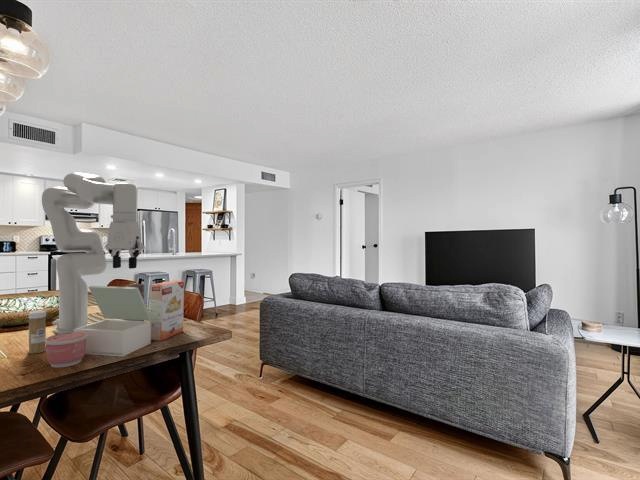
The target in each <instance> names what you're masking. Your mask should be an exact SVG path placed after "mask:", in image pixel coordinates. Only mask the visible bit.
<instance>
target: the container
mask: <svg viewBox="0 0 640 480" xmlns="http://www.w3.org/2000/svg"><path fill="white" fill-rule="evenodd" d="M86 338H87V334H86V333H83V332H71V333H63V334H55V335H50V336H47V337H46V339H45V348H46V350H45V357H46V361H47V362H48V364H50V366H51V367H52V368H65V367H66V368H67V367H71V366H74V365H77V364H80V363H82V359H83V358H84V357H85V356H86V354H85V353H86Z"/></svg>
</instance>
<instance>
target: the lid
mask: <svg viewBox="0 0 640 480" xmlns="http://www.w3.org/2000/svg"><path fill="white" fill-rule="evenodd" d="M87 288H88V289H89V291H90V293H91V296H92V297H93V299H94V301H95V303H96V305H97V306H98V309H99V311H100V312H101V315H102V317H103V318H104V319H113V320H123V319H127V320H144V321H150V320H151V317H150V314H149V308H147V305H146V304H145V303H146V302H145V299H144V300H143V298H142V295H141V293H140V291H139V288H138V287H125V286H113V285H112V286H105V285H90V286H87Z"/></svg>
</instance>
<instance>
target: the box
mask: <svg viewBox="0 0 640 480" xmlns="http://www.w3.org/2000/svg"><path fill="white" fill-rule="evenodd" d="M88 324H89V325H86V326H82V327H79V328H76V329H74V332H83V333H86V334H87V338H86V353H85V355H96V356H107V357H121V358H122V357H125V356H127V355H129V354H131V353H133V352H136V351H137V350H140V349H142V348H145V347H146V346H148V345H150V344H151V342H152V340H151V321H146V320H144V321H132V320H123V319H107V318H105V319H103V320H99V321H96V322H92V323H88Z"/></svg>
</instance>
